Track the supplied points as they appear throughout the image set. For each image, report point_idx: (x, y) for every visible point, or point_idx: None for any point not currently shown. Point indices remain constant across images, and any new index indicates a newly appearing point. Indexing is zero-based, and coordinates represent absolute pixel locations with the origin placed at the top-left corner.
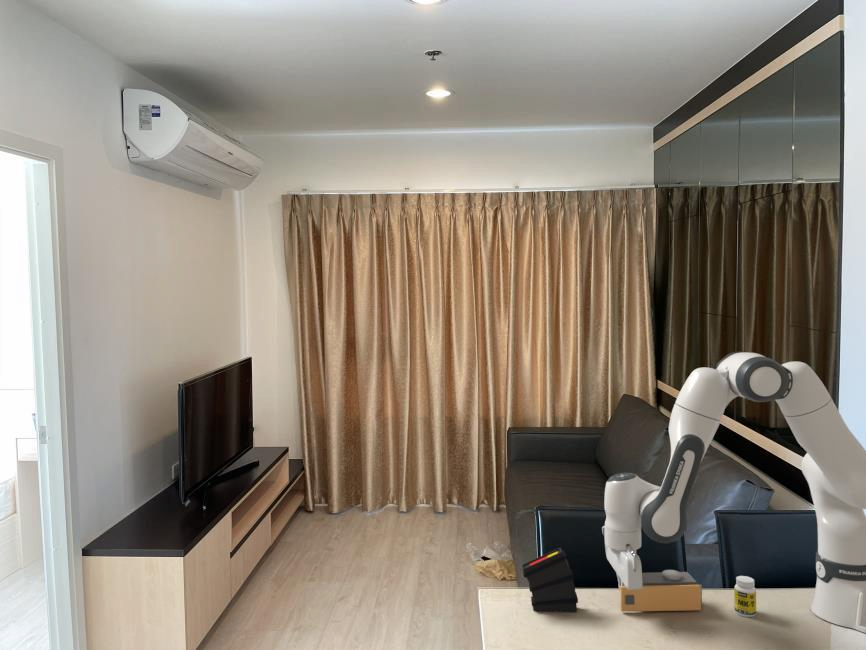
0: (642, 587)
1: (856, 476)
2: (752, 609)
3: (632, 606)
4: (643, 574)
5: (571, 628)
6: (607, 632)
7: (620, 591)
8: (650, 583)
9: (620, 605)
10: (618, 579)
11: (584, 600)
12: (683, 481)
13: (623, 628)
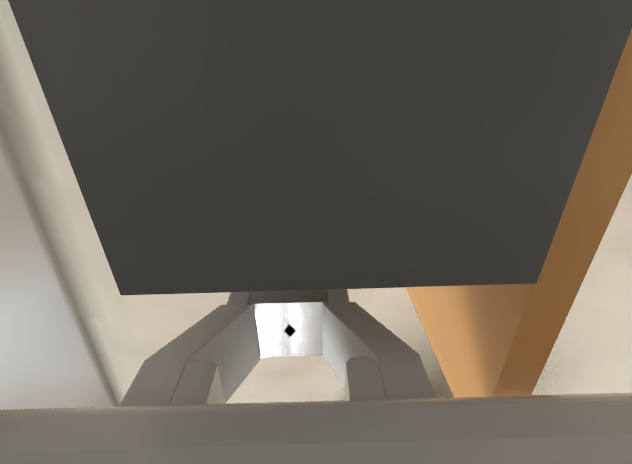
0: (592, 246)
1: None
2: None
3: None
4: (153, 111)
5: None
6: (581, 367)
7: (458, 393)
8: (596, 85)
9: (415, 306)
10: (234, 390)
11: (257, 397)
12: None
13: (578, 303)
